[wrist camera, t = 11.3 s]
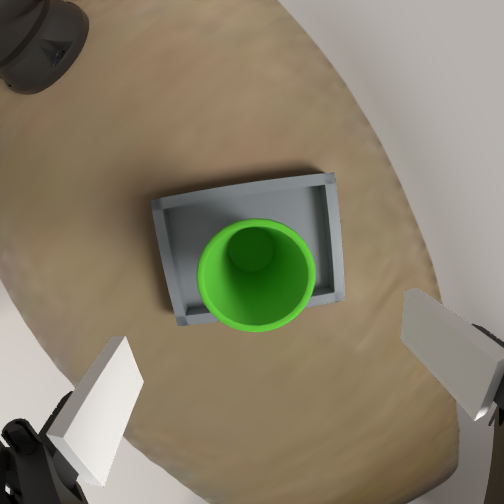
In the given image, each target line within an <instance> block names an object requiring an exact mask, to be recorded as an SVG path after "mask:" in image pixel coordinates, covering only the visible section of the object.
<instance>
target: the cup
mask: <svg viewBox="0 0 504 504" xmlns="http://www.w3.org/2000/svg"><path fill="white" fill-rule="evenodd" d="M196 277H197V286H198V291H199V293H200V296H201V299H202V301H203V303H204V304H205V306H206V307H207V308H208V310H209V311H210V313H211V314H213V315H214V316H215V317H216V318H217V319H218V320H219V321H221V322H222V323H224V324H226V325H228V326H230V327H232V328H235V329H238V330H242V331H246V332H263V331H268V330H273V329H276V328H278V327H280V326H283V325H285V324H287V323H288V322H289V321H291V320H292V319H294V318H295V317H296V316H297V315H298V314H299V313H300V312H301V311H302V310H303V308H304V307H305V306H306V304H307V303H308V301H309V299H310V297H311V295H312V292H313V288H314V285H315V264H314V260H313V256H312V253H311V251H310V249H309V248H308V246H307V244H306V242H305V241H304V240H303V239H302V238H301V237H300V236H299V235H298V233H297V232H296V231H294V230H293V229H291V228H289V227H288V226H286V225H285V224H283V223H280V222H277V221H274V220H271V219H262V218H250V219H245V220H239V221H237V222H234V223H232V224H230V225H228V226H225V227H224V228H223V229H221V230H220V231H219V232H217V233H216V234H215V235H214V236H213V237H212V238H211V239H210V241H209V242H208V243H207V244H206V246H205V247H204V249H203V251H202V253H201V256H200V258H199V261H198V266H197V273H196Z"/></svg>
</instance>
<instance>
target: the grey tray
mask: <svg viewBox="0 0 504 504" xmlns="http://www.w3.org/2000/svg"><path fill="white" fill-rule="evenodd" d="M150 203H151V209H152V215H153V220H154V225H155V231H156V236H157V241H158V246H159V250H160V255H161V260H162V264H163V269H164V273H165V277H166V282H167V286H168V290H169V294H170V298H171V302H172V306H173V310H174V314H175V317H176V321H177V325H178V326H185V325H194V324H202V323H210V322H218V321H219V320H218V319H217V318H216V317H215V316H214V315H213V314H211V313H210V311H209V310H208V308H207V307H206V306H205V304H204V303H203V301H202V299H201V296H200V293H199V291H198V286H197V277H196V273H197V266H198V261H199V258H200V256H201V253H202V251H203V249H204V247H205V246H206V244H207V243H208V242H209V241H210V239H211V238H212V237H213V236H214V235H215V234H216V233H217V232H219V231H220V230H221V229H223V228H224V227H225V226H228V225H230V224H232V223H234V222H237V221H239V220H245V219H250V218H262V219H271V220H274V221H277V222H280V223H283V224H285V225H286V226H288V227H289V228H291V229H293V230H294V231H296V232H297V233H298V235H299V236H300V237H301V238H302V239H303V240H304V241H305V242H306V244H307V246H308V248H309V249H310V251H311V253H312V256H313V260H314V264H315V285H314V288H313V292H312V295H311V297H310V299H309V301H308V303H307V304H306V306H305V307H304V308H307V307H312V306H317V305H323V304H328V303H333V302H338V301H343V300H345V288H344V268H343V253H342V239H341V228H340V217H339V207H338V198H337V189H336V181H335V174H334V172H332V173H322V174H312V175H303V176H295V177H287V178H279V179H271V180H264V181H256V182H250V183H243V184H236V185H230V186H224V187H218V188H212V189H206V190H200V191H195V192H189V193H184V194H178V195H173V196H168V197H163V198H158V199H153V200H150Z"/></svg>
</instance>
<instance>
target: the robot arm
mask: <svg viewBox="0 0 504 504" xmlns="http://www.w3.org/2000/svg"><path fill="white" fill-rule="evenodd" d="M88 30H89V21H88V17H87V15H86V14H85V12H84V11H83V10H82V9H81V8H80V7H79V6H77V5H76V4H74V3H71V2H64V1H62V0H0V77H1V78H2V79H3V80H4V81H5V83H6V85H7V86H8V87H9V88H10V89H12V90H14V91H16V92H19V93H22V94H34V93H38V92H40V91H42V90H44V89H46V88H47V87H49V86H50V85H52V84H53V83H54V82H56V81H57V80H58V79H59V78H60V77H61V76H62V75H63V74H64V73H65V72H66V71H67V70H68V69H69V68H70V66H71V65H72V64H73V62H74V61H75V60H76V58H77V57H78V55H79V53H80V52H81V50H82V48H83V46H84V43H85V41H86V38H87V35H88ZM401 341H402V342H403V343H404V344H405V345H406V346H407V347H408V348H409V349H410V350H411V351H412V352H413V354H414V355H415V356H416V357H417V358H418V359H419V360H420V361H421V362H422V363H423V364H424V365H425V366H426V367H427V368H428V370H429V371H430V372H431V373H432V374H433V375H434V376H435V377H436V378H437V379H438V380H439V382H440V383H441V384H442V385H443V386H444V387H445V388H446V389H447V390H448V392H449V393H450V394H451V395H452V396H453V397H454V398H455V399H456V401H457V402H458V403H459V404H460V405H461V406H462V407H463V408H464V409H465V411H466V412H467V413H468V414H469V415H470V417H471V418H472V419H473V420H474V421H475V420H477V419H478V418H480V417H482V416H483V415H485V414H486V413H488V411H489V409H490V407H491V404H492V402H493V401H494V402H495V403H496V404H497V407H496V409H495V411H494V414H493V416H492V418H491V420H490V422H489V426H491V424H492V422H493V420H494V419H495V423H494V440H493V451H492V460H491V467H490V474H489V480H488V485H487V491H486V495H485V500H484V504H504V342H503V341H501V340H500V339H497V337H496V336H494V335H493V334H490V332H489V331H487V330H486V329H484V328H483V327H481V326H478V325H475V324H470V323H468V322H467V321H465V320H464V319H463V318H461V317H460V316H458V315H457V314H456V313H454V312H453V311H451V310H450V309H448V308H447V307H445V306H444V305H442V304H441V303H439V302H438V301H436V300H435V299H433V298H432V297H430V296H429V295H427V294H426V293H424V292H423V291H421V290H420V289H418V288H413V289H409V290H405V291H404V303H403V318H402V330H401ZM142 385H143V379H142V377H141V375H140V372H139V370H138V367H137V365H136V362H135V360H134V357H133V355H132V352H131V349H130V347H129V344H128V341H127V338H126V336H113V337H111V338H110V340H109V341H108V342H107V344H106V345H105V347H104V348H103V349H102V351H101V352H100V354H99V355H98V356H97V358H96V359H95V361H94V362H93V363H92V365H91V366H90V368H89V369H88V371H87V372H86V374H85V375H84V376H83V378H82V379H81V381H80V382H79V384H78V385H77V387H76V388H75V390H74V391H70V392H69V393H68V394H67V395H66V396H64V397H63V398H62V399H61V401H60V402H59V403H58V405H57V408H55V410H54V411H53V412H52V415H50V417H49V418H48V420H47V422H46V423H45V425H44V426H43V428H42V429H41V431H40V432H39V434H37V433H36V432H35V430H34V429H33V428H32V426H31V425H30V423H29V422H28V421H27V420H25V419H21V418H20V419H14V420H12V421H11V422H9V423H8V424H7V425H6V426H5V427H4V428H3V430H2V434H1V436H2V437H3V438H4V440H5V441H6V442H7V444H8V445H9V446H10V447H5V446H4V445H3V443H2V442H1V441H0V504H88V502H87V500H86V497H85V496H84V493H83V491H82V489H81V486H80V485H79V484H78V482H77V481H76V479H77V477H78V475H80V476H81V477H82V478H83V480H84V481H85V482H86V483H88V484H93V485H97V486H102V487H104V485H105V482H106V479H107V476H108V473H109V471H110V468H111V465H112V462H113V460H114V457H115V454H116V451H117V449H118V446H119V443H120V441H121V438H122V435H123V433H124V430H125V428H126V425H127V422H128V420H129V417H130V415H131V412H132V410H133V407H134V405H135V402H136V400H137V397H138V395H139V392H140V390H141V387H142ZM5 486H8V487H9V488H10V494H8V493H7V492H6V491H5Z"/></svg>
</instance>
